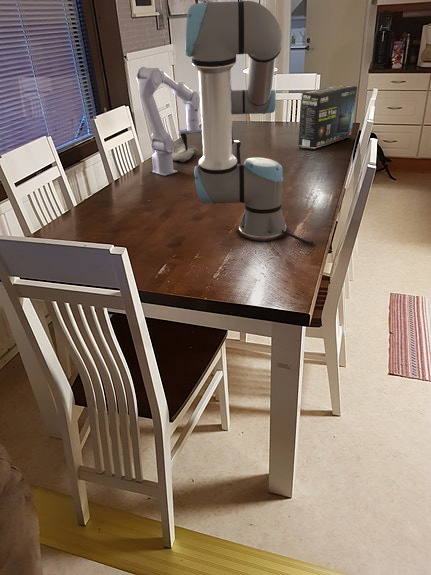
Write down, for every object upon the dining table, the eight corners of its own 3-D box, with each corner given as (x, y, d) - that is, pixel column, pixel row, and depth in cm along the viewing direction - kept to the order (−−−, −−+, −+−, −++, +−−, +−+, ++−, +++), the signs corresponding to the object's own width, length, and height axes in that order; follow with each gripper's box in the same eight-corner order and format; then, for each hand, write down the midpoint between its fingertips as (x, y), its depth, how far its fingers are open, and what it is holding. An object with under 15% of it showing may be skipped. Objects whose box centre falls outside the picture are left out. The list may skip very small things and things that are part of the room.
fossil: (184, 156, 217) (163, 136, 220) (174, 174, 223) (154, 154, 227) (205, 153, 231) (186, 134, 234) (195, 171, 237) (176, 152, 240)
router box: (314, 151, 231) (318, 94, 217) (296, 148, 237) (299, 92, 224) (352, 138, 251) (358, 85, 238) (335, 135, 258) (340, 83, 245)
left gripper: (206, 116, 216) (207, 145, 223) (175, 118, 213) (178, 148, 220) (209, 119, 210) (210, 149, 217) (178, 121, 207) (180, 152, 214)
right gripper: (244, 121, 173) (244, 181, 185) (194, 126, 169) (198, 186, 181) (250, 125, 166) (249, 187, 179) (198, 130, 163) (202, 192, 175)
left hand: (194, 149), depth 218 cm, fingers open, 7 cm apart
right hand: (223, 186), depth 180 cm, fingers closed on block, 6 cm apart
